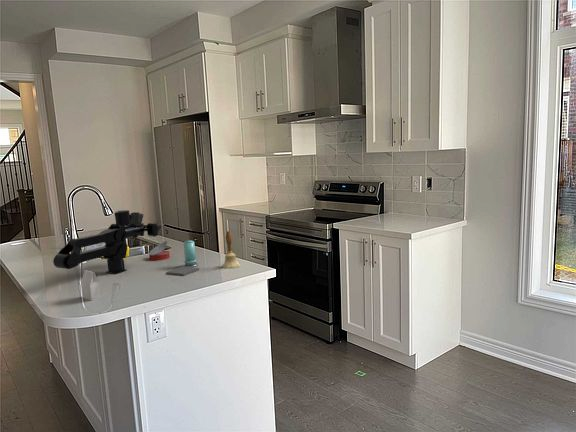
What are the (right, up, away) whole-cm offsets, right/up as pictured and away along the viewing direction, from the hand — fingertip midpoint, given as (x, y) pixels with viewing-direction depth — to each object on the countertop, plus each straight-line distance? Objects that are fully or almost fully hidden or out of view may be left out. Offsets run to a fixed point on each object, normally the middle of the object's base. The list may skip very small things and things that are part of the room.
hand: (154, 226), depth 220 cm
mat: (+20, -19, -27) cm, 39 cm away
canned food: (+2, -17, +4) cm, 17 cm away
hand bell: (+41, -18, -21) cm, 49 cm away
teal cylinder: (+22, -16, -16) cm, 31 cm away
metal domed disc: (+22, -18, -16) cm, 32 cm away
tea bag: (-5, -25, -58) cm, 63 cm away
